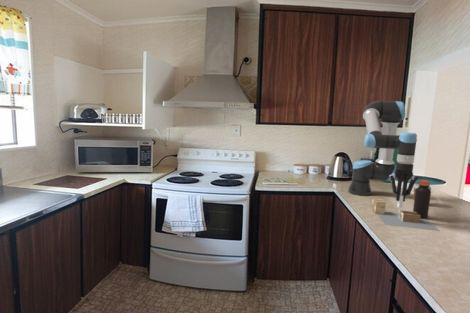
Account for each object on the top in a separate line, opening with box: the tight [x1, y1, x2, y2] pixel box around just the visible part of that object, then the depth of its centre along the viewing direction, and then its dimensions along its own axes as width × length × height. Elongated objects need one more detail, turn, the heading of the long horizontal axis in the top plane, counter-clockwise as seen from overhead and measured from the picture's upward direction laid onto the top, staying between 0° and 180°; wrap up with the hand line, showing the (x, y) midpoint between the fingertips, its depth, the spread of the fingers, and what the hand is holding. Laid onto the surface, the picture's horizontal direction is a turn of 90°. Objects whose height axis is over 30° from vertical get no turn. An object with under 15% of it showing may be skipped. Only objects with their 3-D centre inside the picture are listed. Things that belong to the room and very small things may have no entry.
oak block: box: [370, 198, 386, 215], centre depth 154 cm, size 5×5×7 cm
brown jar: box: [413, 183, 432, 201], centre depth 173 cm, size 10×10×12 cm
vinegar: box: [412, 179, 432, 219], centre depth 148 cm, size 7×7×20 cm
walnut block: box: [398, 209, 421, 223], centre depth 143 cm, size 6×4×8 cm
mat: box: [377, 211, 441, 232], centre depth 144 cm, size 22×24×1 cm
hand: (399, 207), depth 144 cm, fingers closed
